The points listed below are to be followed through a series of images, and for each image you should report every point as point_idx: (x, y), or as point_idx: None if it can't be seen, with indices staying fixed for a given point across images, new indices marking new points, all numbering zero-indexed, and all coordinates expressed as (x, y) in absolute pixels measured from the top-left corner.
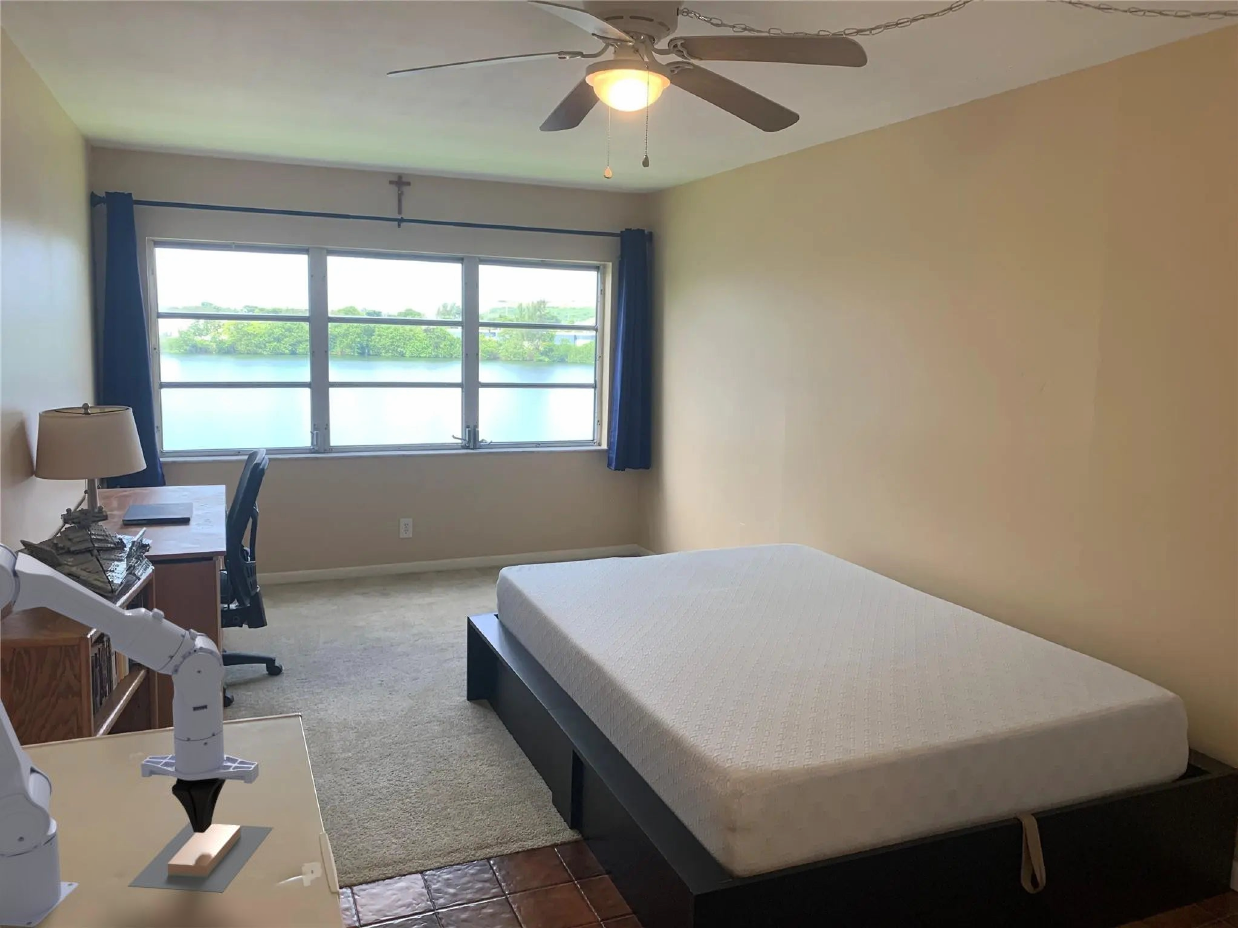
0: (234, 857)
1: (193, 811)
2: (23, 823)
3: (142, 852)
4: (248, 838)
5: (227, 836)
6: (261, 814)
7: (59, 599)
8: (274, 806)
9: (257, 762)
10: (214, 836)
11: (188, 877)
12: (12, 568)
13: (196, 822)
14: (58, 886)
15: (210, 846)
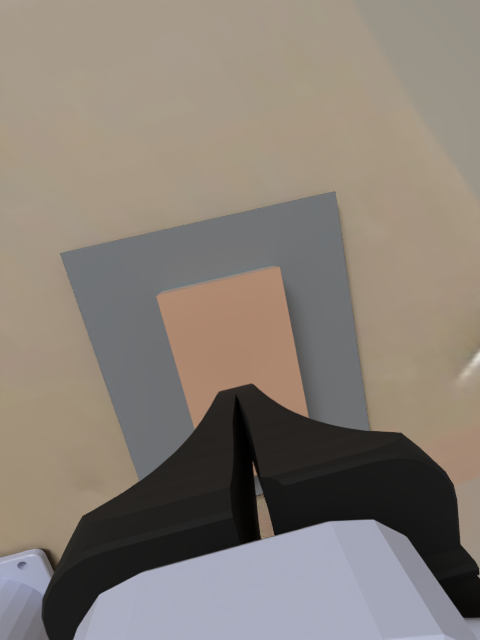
0: (318, 353)
1: (259, 531)
2: None
3: (55, 399)
4: (299, 267)
5: (280, 332)
6: (236, 116)
7: None
8: (246, 51)
9: None
10: (241, 345)
11: None
12: None
13: (253, 473)
14: (33, 636)
15: (266, 389)
